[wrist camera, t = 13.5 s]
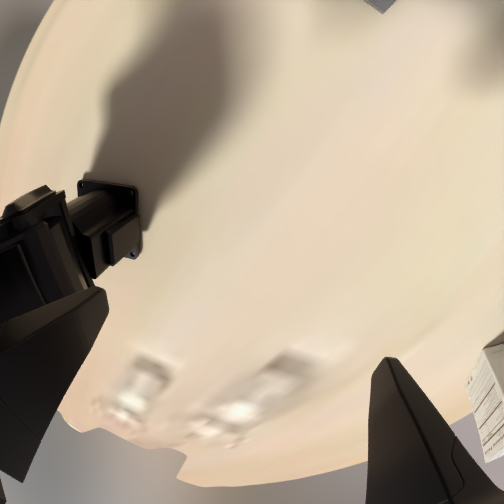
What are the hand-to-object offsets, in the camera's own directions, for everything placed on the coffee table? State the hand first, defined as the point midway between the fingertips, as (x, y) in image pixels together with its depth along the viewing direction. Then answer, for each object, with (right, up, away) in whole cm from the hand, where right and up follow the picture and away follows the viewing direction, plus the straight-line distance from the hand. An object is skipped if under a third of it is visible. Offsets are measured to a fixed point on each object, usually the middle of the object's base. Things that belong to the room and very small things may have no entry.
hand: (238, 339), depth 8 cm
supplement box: (+31, -11, +15) cm, 36 cm away
